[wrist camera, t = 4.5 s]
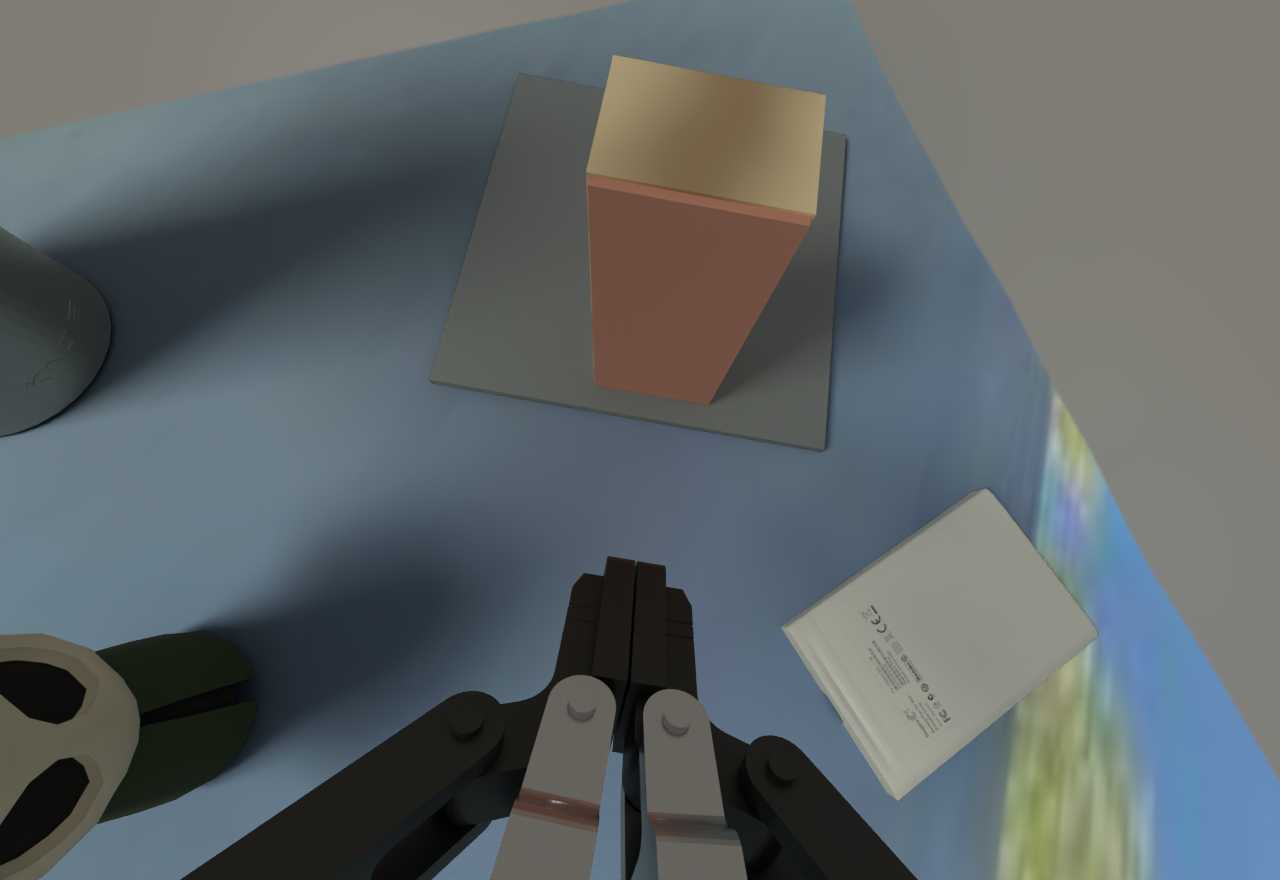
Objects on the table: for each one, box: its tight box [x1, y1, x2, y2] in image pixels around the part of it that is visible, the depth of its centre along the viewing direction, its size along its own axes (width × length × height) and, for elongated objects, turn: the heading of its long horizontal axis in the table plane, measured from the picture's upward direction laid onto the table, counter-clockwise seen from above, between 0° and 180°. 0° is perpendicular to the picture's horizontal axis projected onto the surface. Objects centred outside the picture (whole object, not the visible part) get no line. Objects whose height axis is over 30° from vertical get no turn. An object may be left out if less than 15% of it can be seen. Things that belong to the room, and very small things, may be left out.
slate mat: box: [429, 73, 846, 452], centre depth 30 cm, size 20×20×1 cm
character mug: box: [0, 632, 257, 880], centre depth 16 cm, size 11×7×13 cm, turn 17°
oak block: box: [586, 55, 826, 405], centre depth 21 cm, size 6×4×14 cm
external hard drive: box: [781, 488, 1098, 800], centre depth 25 cm, size 2×8×12 cm
